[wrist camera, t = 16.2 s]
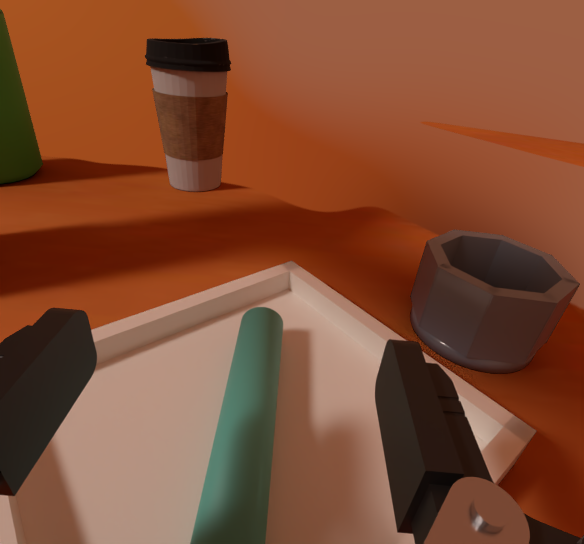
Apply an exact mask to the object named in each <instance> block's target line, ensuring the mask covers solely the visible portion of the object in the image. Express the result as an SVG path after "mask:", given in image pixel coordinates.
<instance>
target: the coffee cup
mask: <svg viewBox="0 0 584 544" xmlns="http://www.w3.org/2000/svg"><path fill="white" fill-rule="evenodd" d="M145 58H146V59H147V62H146V64H147V65H149V66H151V72H152V78H153V84H154V88H153V89H152V90H153V95H154V101H155V106H156V111H157V116H158V121H159V126H160V132H161V137H162V142H163V148H164V152H165V156H166V162H167V168H168V174H169V180H170V184H171V185H172V186H173V187H174V188H176V189H179V190H184V191H192V192H200V191H208V190H212V189H215V188H217V187H219V186H220V183H221V169H222V154H223V144H224V133H225V120H226V107H227V95H228V93H227V92H226V80H227V71H230V70H231V69H230V64H231V62H230V60H229V52H228V44H227V40H224V39H215V38H193V39H147V52H146V55H145Z"/></svg>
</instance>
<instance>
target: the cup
mask: <svg viewBox="0 0 584 544" xmlns="http://www.w3.org/2000/svg"><path fill="white" fill-rule="evenodd" d="M579 285H580V284H579V283H578V282H577V281H576V280H575V279H574V278H573V276H572V275H571V274H570V273H568V271H567V270H566V269H565V268H564V267H563V266H562V265H561V264H560V263H559V262H558V261H557V260H556V259H555V258H554V257H553V256H552V255H550V254H547V253H545V252H542V251H540V250H537V249H535V248H532V247H530V246H528V245H525V244H523V243H520V242H517V241H515V240H513V239H510V238H508V237H505V236H503V235H496V234H487V233H479V232H470V231H461V230H452V231H450V232H448V233H445V234H443V235H440V236H438V237H435V238H433V239H431V240H428V241H427V242H426V246H425V249H424V252H423V256H422V259H421V262H420V266H419V269H418V272H417V276H416V279H415V282H414V286H413V289H412V292H411V296H410V297H411V300H412V304H413V306H412V310H411V313H410V320H411V324H412V327H413V329H414V331H415V333H416V334H417V335H418V337H419V338H420V339H421V340H422V341H423V342H424V343H425V344H426V345H427V346H428V347H429V348H431V349H432V350H433V351H435V352H436V353H437V354H439V355H441V356H442V357H444V358H446V359H448V360H450V361H451V362H454V363H456V364H458V365H461V366H463V367H466V368H469V369H473V370H476V371H481V372H486V373H496V374H503V373H512V372H516V371H519V370H521V369H523V368H525V367H526V366H527V365H529V363H530V362H531V361H532V359H533V357H534V355H535V353H536V352H537V351H538V350H539V349H540V348H541V347H542V346H543V345H544V344H545V343H546V342H547V341H548V339H549V337H550V335H551V334H552V332H553V330H554V328H555V327H556V325H557V323H558V322H559V320H560V318H561V316H562V315H563V313H564V311H565V309H566V308H567V306H568V304H569V302H570V301H571V299H572V297H573V296H574V294H575V292H576V290H577V288H578V287H579Z"/></svg>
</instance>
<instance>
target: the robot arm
mask: <svg viewBox="0 0 584 544" xmlns="http://www.w3.org/2000/svg"><path fill="white" fill-rule="evenodd" d="M96 363H97V352H96V348H95V344H94V340H93V336H92V332H91V328H90V324H89V320H88V317H87V314H86V313H85V312H84V311H82V310H73V309H62V308H51V309H49V310H47V311H46V312H45V313H44V314H43V315H42V317H41V318H40V319H39V320H38V321H37V322H36V323H35V324H34V325H33V326H29V325H27V326H26V327H24V328H22V329H21V330H19V331H17V332H15V333H14V334H12V335H10V336H9V337H7V338H5V339H4V340H3V341H2V342H1V343H0V495H5V496H15V495H16V493H17V492H18V490H19V489H20V487H21V486H22V484H23V483H24V481H25V479H26V478H27V476H28V475H29V473H30V472H31V470H32V469H33V467H34V465H35V464H36V462H37V461H38V459H39V458H40V456H41V455H42V453H43V452H44V450H45V448H46V447H47V445H48V444H49V442H50V441H51V439H52V438H53V436H54V434H55V433H56V431H57V430H58V428H59V427H60V425H61V424H62V422H63V421H64V419H65V417H66V416H67V414H68V413H69V411H70V410H71V408H72V407H73V405H74V403H75V402H76V400H77V399H78V397H79V396H80V394H81V393H82V391H83V389H84V388H85V386H86V385H87V383H88V382H89V380H90V379H91V377H92V375H93V373H94V371H95V368H96ZM375 403H376V409H377V415H378V421H379V427H380V433H381V439H382V445H383V451H384V457H385V462H386V468H387V474H388V480H389V486H390V492H391V498H392V504H393V509H394V515H395V521H396V527H397V533H408V534H413V536H414V541H415V544H584V536H583V537H582V538H579V537H576V536H574V535H571V534H569V533H566V532H564V531H562V530H559V529H557V528H554V527H552V526H549V525H547V524H544V523H542V522H540V521H537V520H535V519H533V518H531V517H529V516H528V515H526V514H524V513H523V512H522V510H521V508H520V507H519V505H518V504H517V503H516V501H515V500H514V499H513V498H512V497H511V496H510V495H509V494H508V493H507V492H506V491H505V490H503V489H502V488H500V487H499V486H497V485H496V484H495V483H494V482H493V480H492V478H491V476H490V473H489V471H488V468H487V466H486V463H485V461H484V458H483V456H482V453H481V451H480V449H479V446H478V444H477V441H476V439H475V436H474V434H473V431H472V429H471V426H470V424H469V421H468V419H467V417H465V411H464V409H463V406H462V404H461V401H459V396H458V394H457V391H456V389H455V386H454V384H453V381H452V379H451V378H450V377H449V376H448V375H447V374H446V373H445V371H444V370H443V369H442V368H441V367H440V366H439V365H438V364H436V363H426V361H425V358H424V355H423V352H422V349H421V347H420V344H419V343H418V342H414V341H403V340H392V339H389V340H388V341H387V343H386V346H385V349H384V353H383V357H382V360H381V364H380V367H379V371H378V375H377V378H376V384H375Z"/></svg>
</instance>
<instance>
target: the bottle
mask: <svg viewBox="0 0 584 544" xmlns="http://www.w3.org/2000/svg"><path fill="white" fill-rule="evenodd" d="M42 165H43V163H42V159H41V155H40V151H39V147H38V143H37V140H36V136H35V132H34V129H33V124H32V121H31V116H30V113H29V110H28V105H27V101H26V97H25V93H24V90H23V86H22V82H21V78H20V74H19V71H18V67H17V63H16V59H15V56H14V52H13V48H12V44H11V40H10V37H9V33H8V29H7V25H6V22H5V18H4V14H3V12H2V10H1V9H0V184H5V183H11V182H16V181H20V180H23V179H27V178H29V177H31V176H33V175H34V174H35V173H36V172H37V171H38V170H39V169H40V167H41V166H42Z"/></svg>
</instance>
